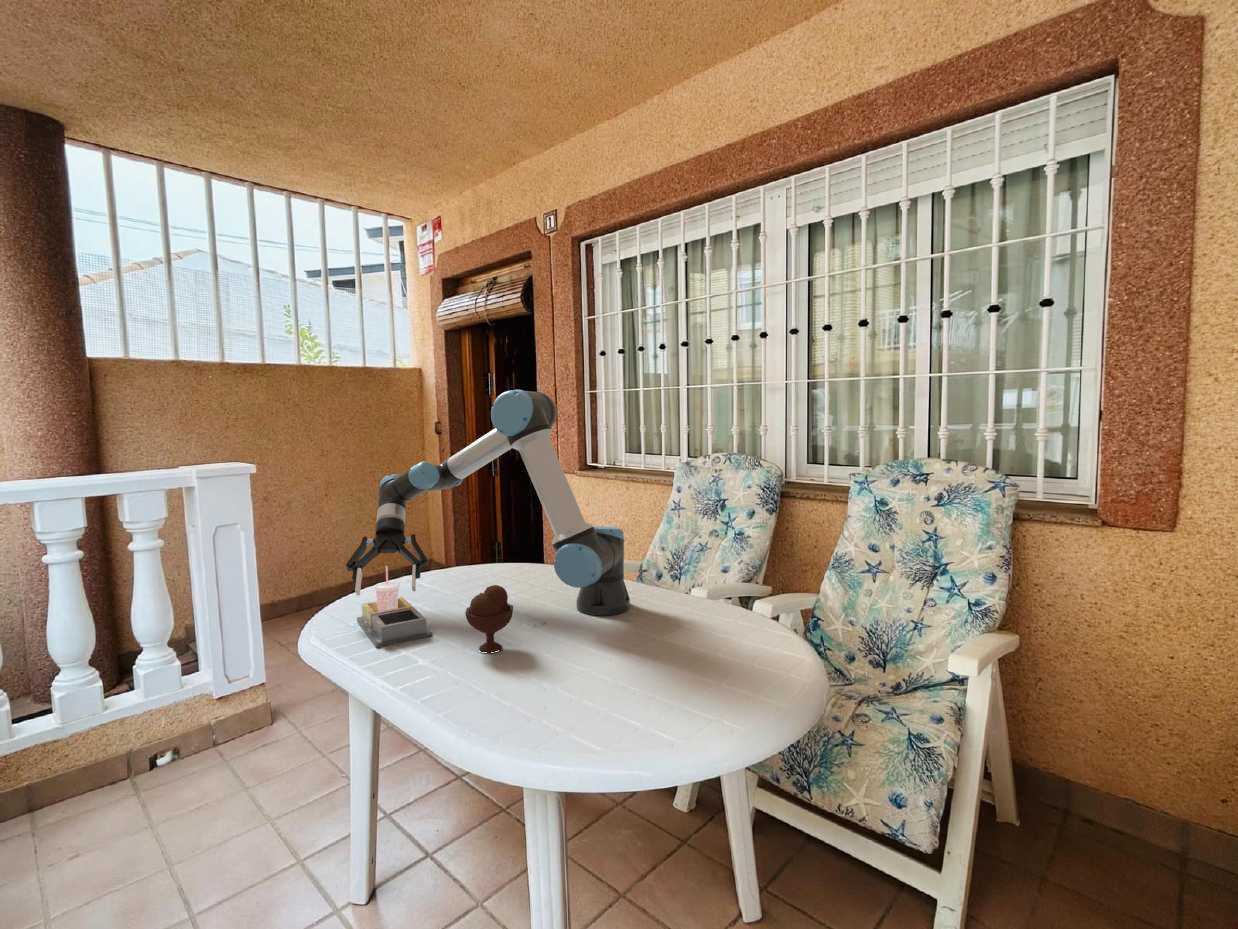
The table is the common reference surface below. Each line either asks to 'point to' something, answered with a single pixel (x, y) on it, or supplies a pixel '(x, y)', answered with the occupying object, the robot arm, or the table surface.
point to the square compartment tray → (392, 623)
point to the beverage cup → (387, 594)
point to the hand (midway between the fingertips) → (385, 590)
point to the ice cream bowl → (490, 615)
